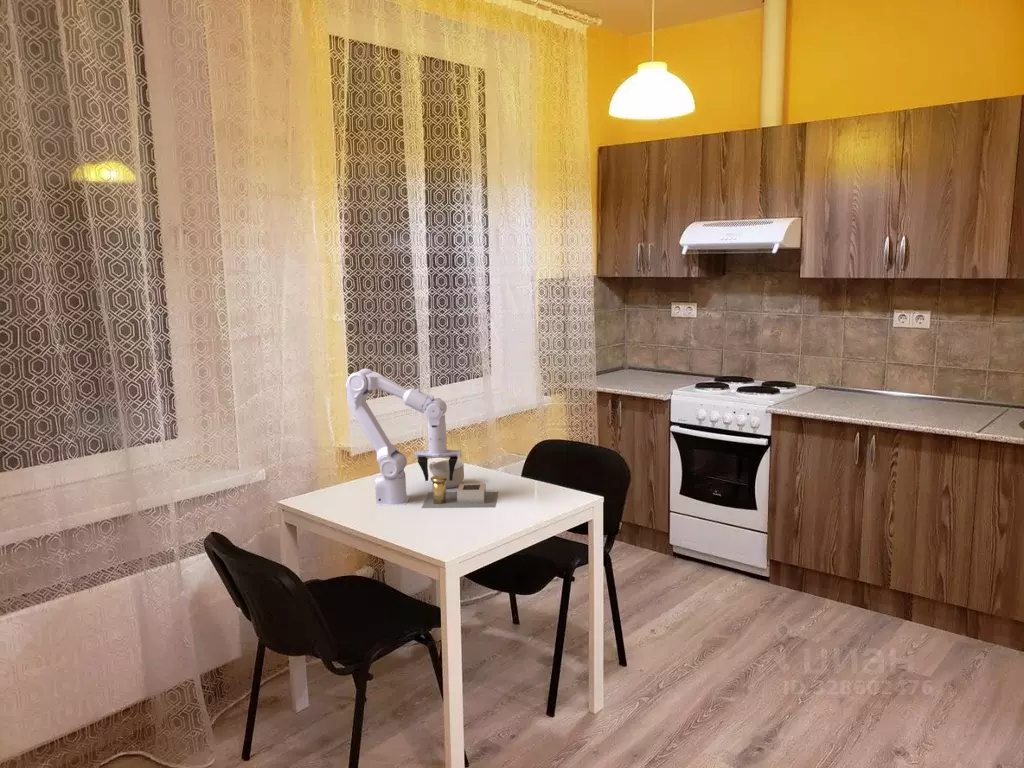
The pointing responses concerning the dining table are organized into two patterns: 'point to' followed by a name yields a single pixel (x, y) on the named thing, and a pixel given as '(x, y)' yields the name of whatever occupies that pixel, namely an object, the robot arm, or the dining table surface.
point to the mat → (452, 503)
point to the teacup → (448, 472)
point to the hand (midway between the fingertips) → (439, 479)
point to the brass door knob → (439, 489)
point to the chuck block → (471, 493)
